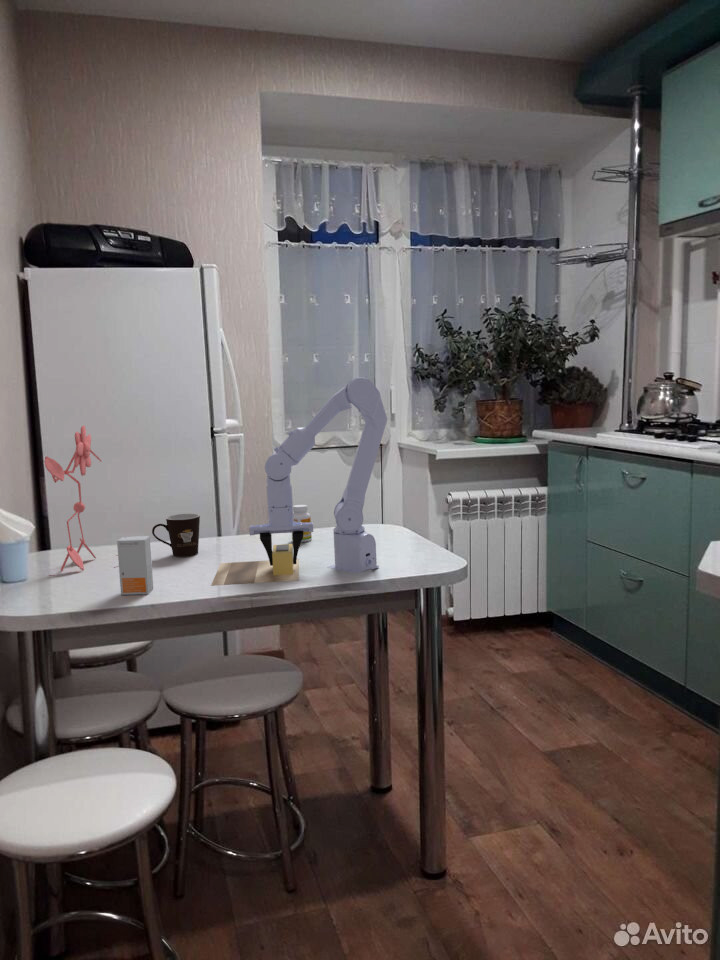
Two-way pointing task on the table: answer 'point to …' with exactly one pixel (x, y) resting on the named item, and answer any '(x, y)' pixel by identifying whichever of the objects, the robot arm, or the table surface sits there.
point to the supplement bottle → (302, 519)
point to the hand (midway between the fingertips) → (283, 563)
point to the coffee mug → (182, 534)
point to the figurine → (83, 461)
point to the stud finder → (282, 559)
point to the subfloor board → (251, 573)
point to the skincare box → (135, 565)
